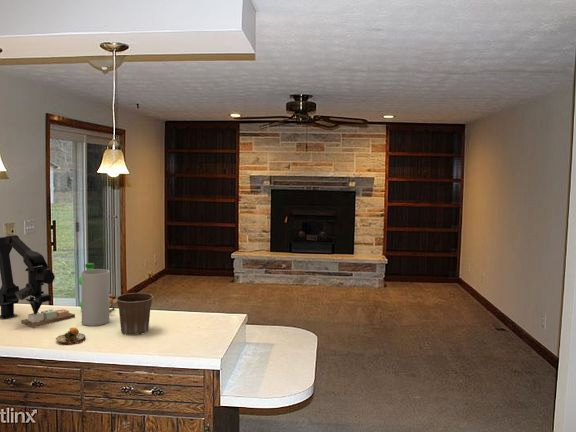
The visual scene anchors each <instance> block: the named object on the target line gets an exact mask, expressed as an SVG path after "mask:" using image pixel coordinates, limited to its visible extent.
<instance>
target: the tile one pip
mask: <svg viewBox="0 0 576 432" xmlns="http://www.w3.org/2000/svg"><path fill="white" fill-rule="evenodd" d="M27 319H28V321H30V322H32V323H35V322H39V321H42V320H44V314H42V313H41V312H39V311H38V312H37V314H34V312H32V313H29V314H27Z"/></svg>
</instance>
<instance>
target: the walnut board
mask: <svg viewBox="0 0 576 432" xmlns="http://www.w3.org/2000/svg"><path fill="white" fill-rule="evenodd" d="M73 318H74V319H75V318H76V314H75V313H71V312H69V315H65V316H61V317H58V316H57V317H55V318H51V319H44V320H42V321H38V322H34V323H33V322H30V321H28V318H26V319H21V320H20V324H22V325H24V326H27V327H30V328H32V329H33V328H37V327H42V326H45V325H49V323H50V324H53V323H58V322H62V321H65V320H70V319H73Z"/></svg>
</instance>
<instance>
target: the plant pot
mask: <svg viewBox="0 0 576 432" xmlns="http://www.w3.org/2000/svg"><path fill="white" fill-rule="evenodd" d="M153 298H154V295H152V294H150V293H147V292H146V293H145V292H130V293H124V294H120V295H118V296H117V297H115V300H116V302H117V308H118V312H119V313H118V314H119V323H120V332H121V334H122V335H125V334H126V336H135V335H138V334H140V335H143V334H142V333H144V334H146V333H147V332H148V331H149V328H150V318H151V317H150V316H151V314H150V313H151V307H152V303H153ZM145 332H146V333H145Z"/></svg>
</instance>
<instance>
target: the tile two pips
mask: <svg viewBox="0 0 576 432" xmlns="http://www.w3.org/2000/svg"><path fill="white" fill-rule="evenodd" d="M40 313H42V314H44V319H45V320H48V319H52V318H55V317H57V316H56V310H54V309H51V308H50V309H47V310H42V311H40Z"/></svg>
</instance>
